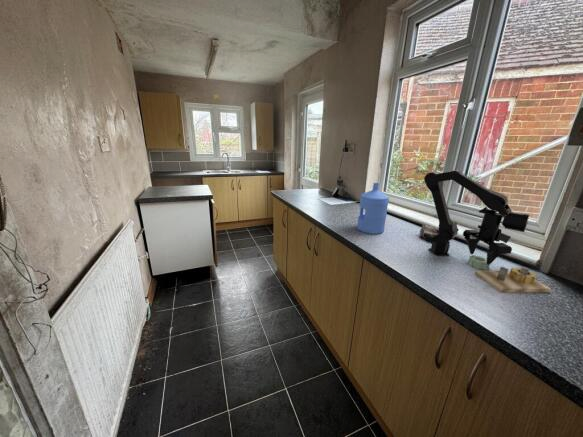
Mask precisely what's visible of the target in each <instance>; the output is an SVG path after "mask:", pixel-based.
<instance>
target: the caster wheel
mask: <svg viewBox="0 0 583 437" xmlns="http://www.w3.org/2000/svg"><path fill="white" fill-rule="evenodd" d="M438 233H439V232H438V230H437V229H436V227H434V226H432V225H431V226H430V225H428V224H427V225H426V224H425V222H423V224H422V226H421V228H420V230H419V237H423V238H424V239H425V240H426V241H428V242H430V243H432V242H433V239H432V237H433V236H435V235H436V234H438Z"/></svg>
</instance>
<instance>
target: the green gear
mask: <svg viewBox="0 0 583 437" xmlns="http://www.w3.org/2000/svg"><path fill="white" fill-rule="evenodd" d="M467 263H468V265H469V266H471V267H474V268H475V269H478V270H479V269H482V270H487V269H489V268H490V265H488V264H487V257H484V256H481V255H475V254H471V255H470V256H469V259H468V262H467Z"/></svg>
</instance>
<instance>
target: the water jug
mask: <svg viewBox="0 0 583 437" xmlns="http://www.w3.org/2000/svg"><path fill="white" fill-rule="evenodd" d="M379 185H380V183H378V182H373V184H372V189H371V190H369V191H365V192H363V193H360V198H359V207H360V209H359V215H358V218H357V224H356V229H357V230H358V231H360V232H362V233H364V234H370V235H378V234H382V233H383V232H384V231H385V228H386V227H385V225H386V220H387V219H386V218H387V212H388V206H389V203H390V202H389V201H390V200H389V198H390V197H389V196H388V195H387V194H385V193H384V192H381V191H380V190H379V188H380V187H379ZM364 210H365V211H364Z"/></svg>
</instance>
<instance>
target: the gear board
mask: <svg viewBox="0 0 583 437" xmlns="http://www.w3.org/2000/svg"><path fill="white" fill-rule="evenodd" d="M520 268H521V269H520V273H522V274H526V275H527V274H528V272H529V271H530V269H529V268H528V267H525V266H522V267H520ZM510 271H511V270H509V268H507V267H503V266H501V267H500V268H499V270H475V272H474V275H475V276H477V277H479V278H480V279H481V280H482V281H484V282H486V283H487V284H488V285H489V286H491V287H493V288H494V289H496V290H497V291H498V292H499V293H550V292H551V290H552V288H550V286H548V285H545V284H543V283H542V282H540V281H538V280H536V281H535V283H534V284H524V283H521V282H517V281H515V280H514V279H513V278H510V277H509V274H510Z"/></svg>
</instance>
